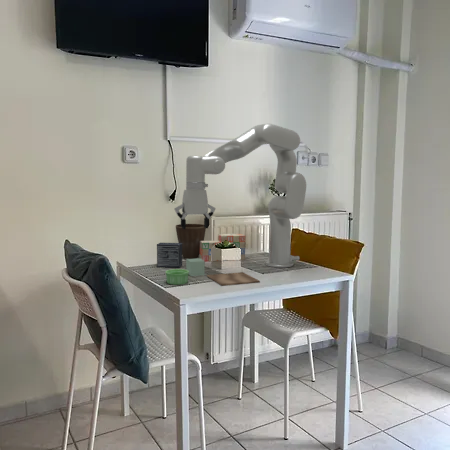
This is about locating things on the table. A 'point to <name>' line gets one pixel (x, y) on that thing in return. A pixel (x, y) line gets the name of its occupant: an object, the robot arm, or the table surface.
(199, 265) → the sage cube
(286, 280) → the table surface
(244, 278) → the walnut board
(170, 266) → the small box
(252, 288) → the table surface
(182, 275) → the ramekin
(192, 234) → the plant pot
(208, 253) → the stack of blocks
